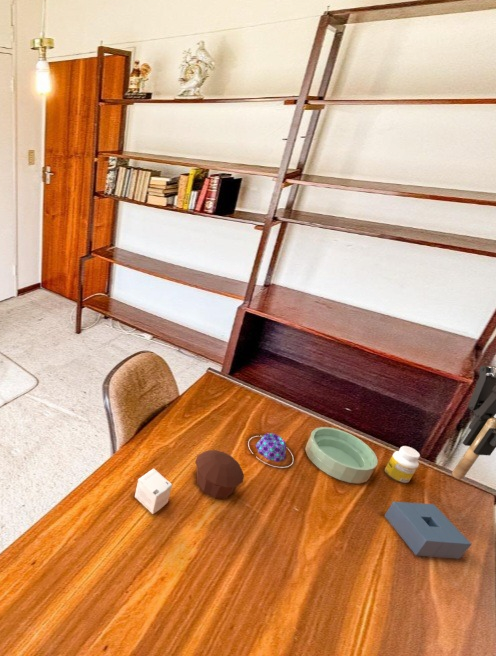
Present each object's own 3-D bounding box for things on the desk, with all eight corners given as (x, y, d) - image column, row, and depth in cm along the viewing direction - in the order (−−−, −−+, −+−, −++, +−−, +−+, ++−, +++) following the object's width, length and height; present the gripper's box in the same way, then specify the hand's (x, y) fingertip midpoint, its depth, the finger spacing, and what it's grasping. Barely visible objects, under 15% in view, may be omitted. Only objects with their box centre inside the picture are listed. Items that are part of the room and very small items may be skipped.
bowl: (345, 443, 121) (352, 428, 119) (382, 487, 107) (392, 471, 105) (294, 440, 122) (300, 425, 119) (324, 483, 108) (332, 467, 105)
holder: (422, 520, 99) (434, 504, 96) (458, 560, 90) (471, 544, 87) (382, 517, 99) (393, 501, 96) (414, 557, 90) (426, 541, 88)
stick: (456, 474, 87) (496, 415, 80) (464, 481, 86) (505, 422, 78) (448, 473, 87) (487, 415, 80) (455, 480, 86) (496, 421, 78)
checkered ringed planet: (300, 472, 111) (306, 459, 108) (255, 465, 112) (260, 452, 110) (283, 440, 121) (288, 427, 119) (242, 435, 123) (246, 422, 121)
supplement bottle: (385, 465, 114) (400, 440, 110) (409, 478, 110) (425, 452, 106) (381, 475, 111) (395, 450, 106) (405, 488, 107) (421, 463, 103)
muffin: (190, 496, 102) (198, 468, 98) (190, 463, 112) (197, 437, 108) (239, 510, 99) (250, 483, 95) (235, 476, 109) (244, 449, 104)
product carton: (149, 487, 104) (153, 467, 101) (167, 504, 100) (173, 484, 97) (133, 498, 101) (137, 478, 98) (152, 516, 97) (157, 496, 94)
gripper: (481, 333, 80) (427, 422, 90) (566, 379, 66) (492, 477, 76) (519, 335, 79) (461, 424, 89) (612, 381, 66) (532, 480, 76)
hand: (475, 449), depth 83 cm, fingers closed on stick, 2 cm apart
